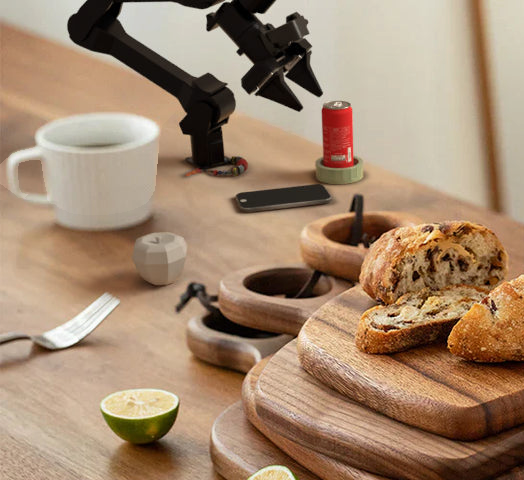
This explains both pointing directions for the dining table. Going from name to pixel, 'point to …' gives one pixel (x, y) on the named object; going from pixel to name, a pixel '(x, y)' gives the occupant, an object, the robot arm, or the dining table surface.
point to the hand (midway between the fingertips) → (311, 102)
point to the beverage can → (337, 134)
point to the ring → (339, 172)
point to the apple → (160, 257)
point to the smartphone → (283, 198)
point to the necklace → (239, 169)
